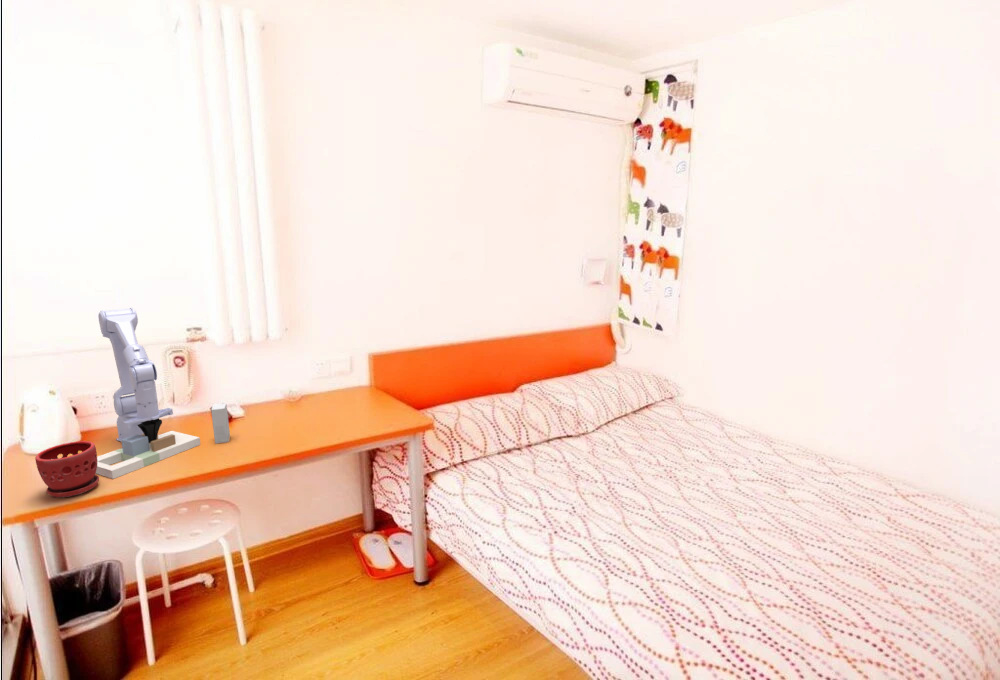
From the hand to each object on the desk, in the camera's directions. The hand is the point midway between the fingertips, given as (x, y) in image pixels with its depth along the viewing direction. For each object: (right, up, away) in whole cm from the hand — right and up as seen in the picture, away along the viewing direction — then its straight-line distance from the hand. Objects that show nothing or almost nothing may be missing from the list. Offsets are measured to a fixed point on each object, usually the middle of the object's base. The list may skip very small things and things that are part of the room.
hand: (152, 442), depth 180 cm
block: (-2, -2, -4) cm, 5 cm away
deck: (-1, -4, -2) cm, 5 cm away
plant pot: (-7, -9, -24) cm, 26 cm away
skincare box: (+16, -1, +12) cm, 20 cm away
